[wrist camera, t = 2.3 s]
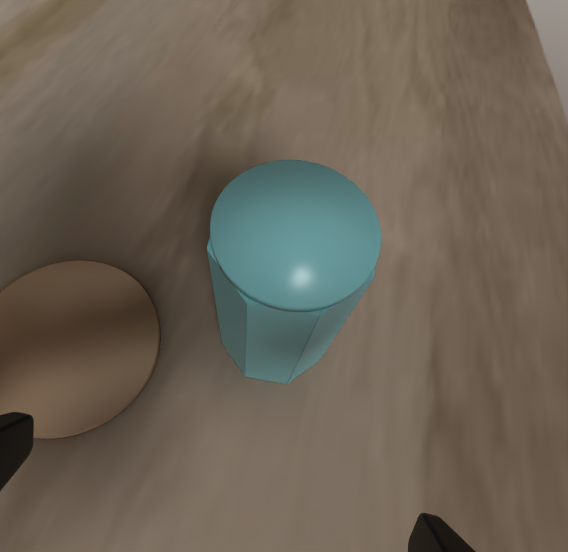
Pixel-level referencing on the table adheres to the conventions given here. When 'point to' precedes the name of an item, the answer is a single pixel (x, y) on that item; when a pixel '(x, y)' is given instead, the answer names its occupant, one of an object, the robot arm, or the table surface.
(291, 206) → the teal lidded canister
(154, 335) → the tan round disc
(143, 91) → the table surface
